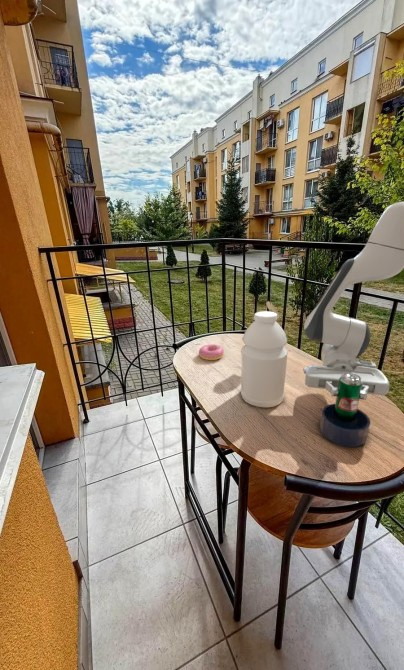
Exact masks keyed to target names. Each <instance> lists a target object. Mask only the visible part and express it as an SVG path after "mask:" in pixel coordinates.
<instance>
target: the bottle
mask: <svg viewBox="0 0 404 670" xmlns="http://www.w3.org/2000/svg"><path fill="white" fill-rule="evenodd" d="M253 320H254V321H253V322H251V324H250V325H249V326H248V327H247V328H246V330H245V332H244V333H243V335H242V338H241V339H242V342H243V344H244V345H243V346H242V348H241V349H240V356H241V357H240V359H241V361H240V363H241V365H240V395H241V398H242V399H243V400H244V401H245V402H246V403H247V404H249V405H251V406H253V407H257V408H273V407H276V406H278V405H280V404H281V403H282V402H283V401H284V399H285V393H286V391H285V390H286V389H285V388H286V387H285V386H286V376H287V375H286V374H287V361H288V355H289V354H288V350H287V348H286V347H285V346H286V345H287V344H288V338H287V335H286V332H285V331H284V329H283V327H282V326H281V325H280V324H279V323H278V322H277V321H278V318H277V314H276V313H274V312H270V311H269V310H260V311H257V312H255V313H254V314H253Z"/></svg>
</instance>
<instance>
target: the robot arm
mask: <svg viewBox="0 0 404 670" xmlns="http://www.w3.org/2000/svg"><path fill="white" fill-rule="evenodd" d="M403 270H404V201H397V202H395V203H392V204H390V205H389V206H387V208H386V209H385V210H384V211H383V213H382V214H381V216H380V218H378V220H377V222H376V224H375V226H374V227H373V230H371V234H370V235H369V237H368V240H367V242H366V244H365V245H364V247H363V249H362V250H361V251H360V252H359V253H358V254H357V255H356V256H355V257H353V258H349V259H347V260H346V261H345V262H344V263H343V264H342V265H341V267H340V268H339V269H338V271H337V272H336V274H335V275H334V276H333V278H332V280H331V282H330V283H329V285H328V286H327V288H326V289H325V291H324V293H323V294H322V295H321V297H320V299H319V300H318V302H317V304H316V305H315V306H314V308H313V309H312V311H311V312H310V313H309V315H307V317H306V319H305V321H304V323H303V332H304V334H305V336H306V338H308V340H309V341H310V342H311V341H312V342H316V343H323V345H322V347H321V352H320V353H321V362H322V364H323V365H317V364H316V365H315V364H312V365H311V364H310V365H308V366H305V367H303V369H302V370H303V371H302V372H303V374H305V376H304V385H305V386H306V387H308V388H314V389H323V390H325V391H327V392H328V393H330V395H331V397H338V393H339V391H338V384H339V378H340V377H341V375H342V374H343V373H353V374H356V375H358V376H360V377H361V381H362V388H361V393H360V398H359V400H363V401H366V400H367V397H368V395H377V396H386V395H388V393H389V390H390V381H389V380H388V378H387V377H386V376H387V375H385V374H384V373H383V371H381V370H380V369H378V368H377V364H376V363H375V362H372V361H368V360H363V359H359V358H360V356H362V355H363V354H364V353H365V352H366V350H367V349H368V347H369V345H370V342H371V338H372V337H371V334H372V333H371V331H370V327H369V325H368V323H367V322H366V321H363V320H360V319H357V318H354V317H350V316H346V315H341V314H339V313H335V312H333V311H332V310H333V308H334V307H335V305H336V304H337V302H338V301H339V299H340V297H341V296H342V295H343V293H344V292H345V290H346V289H347V288H348V287H350V286H352V285H355V284H359V283H366V282H377V281H384V280H387V279H390V278H393V277H394V276H396V275H399V273H401V272H402V271H403Z"/></svg>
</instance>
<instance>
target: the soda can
mask: <svg viewBox="0 0 404 670" xmlns="http://www.w3.org/2000/svg"><path fill="white" fill-rule="evenodd" d="M361 388H362V381H361V377H360V376H358V375H356V374H353V373H343V374H342V375H341V377H340V378H339V384H338V391H339V393H338V397H337V396H335V397H336V398H335V403H334V404H335V410H334V415H335V417H336V418H337V419H338V420H340V421H342V422H352V421H354V420H355V419H356V414H357V409H359V403H360V399H359V398H360V393H361Z"/></svg>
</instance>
